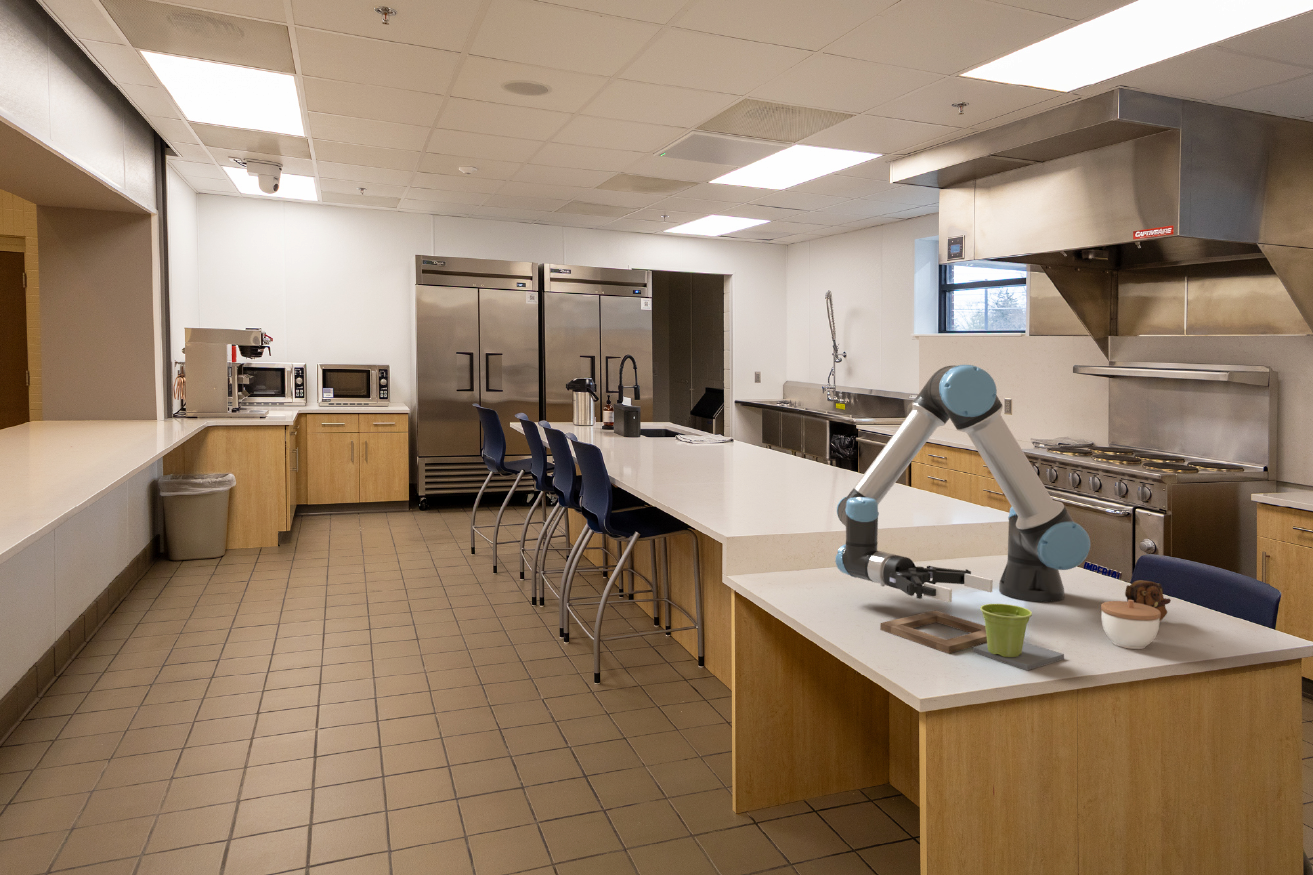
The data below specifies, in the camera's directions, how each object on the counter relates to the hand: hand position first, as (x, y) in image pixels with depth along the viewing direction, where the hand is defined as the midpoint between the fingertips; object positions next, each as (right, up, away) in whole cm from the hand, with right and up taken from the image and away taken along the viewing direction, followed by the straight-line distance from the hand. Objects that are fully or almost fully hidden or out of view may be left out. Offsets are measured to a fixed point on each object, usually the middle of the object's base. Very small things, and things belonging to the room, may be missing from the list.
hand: (971, 590), depth 171 cm
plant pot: (+3, -11, -10) cm, 15 cm away
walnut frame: (-5, -10, +5) cm, 12 cm away
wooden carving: (+43, -10, +11) cm, 46 cm away
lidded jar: (+32, -11, -2) cm, 34 cm away
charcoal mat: (+6, -11, -9) cm, 15 cm away
